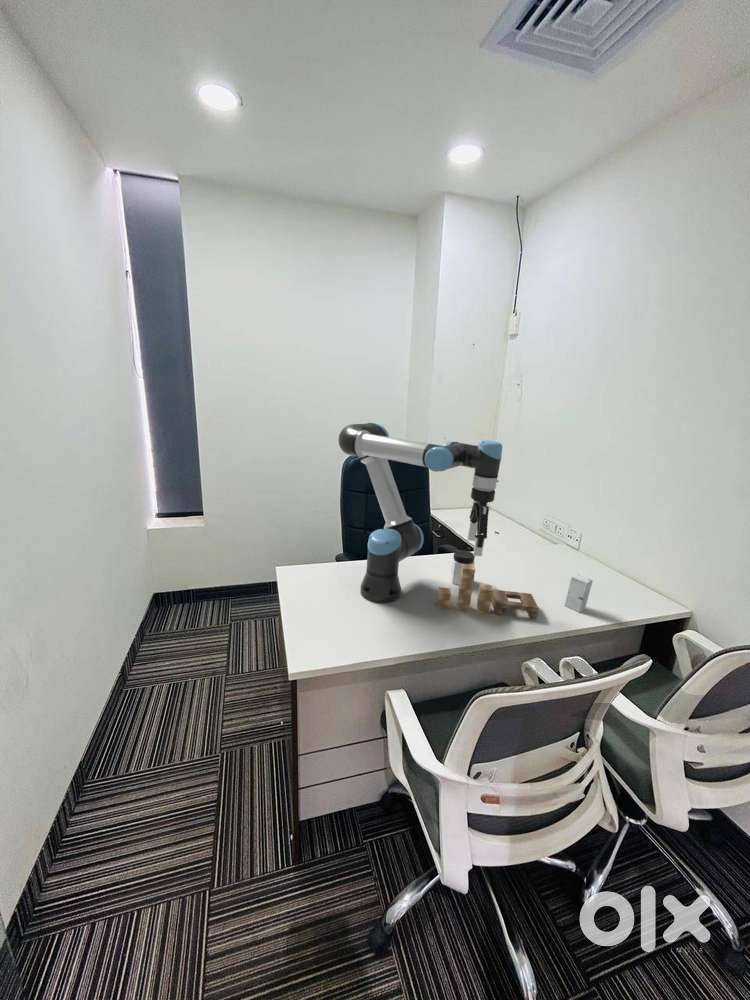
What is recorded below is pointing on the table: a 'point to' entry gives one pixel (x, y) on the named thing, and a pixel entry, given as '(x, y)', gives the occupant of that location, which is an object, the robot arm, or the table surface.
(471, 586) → the peg long
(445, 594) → the peg short
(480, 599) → the peg mid
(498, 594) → the bridge
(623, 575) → the table surface
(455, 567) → the jar
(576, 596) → the skincare box
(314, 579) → the table surface
